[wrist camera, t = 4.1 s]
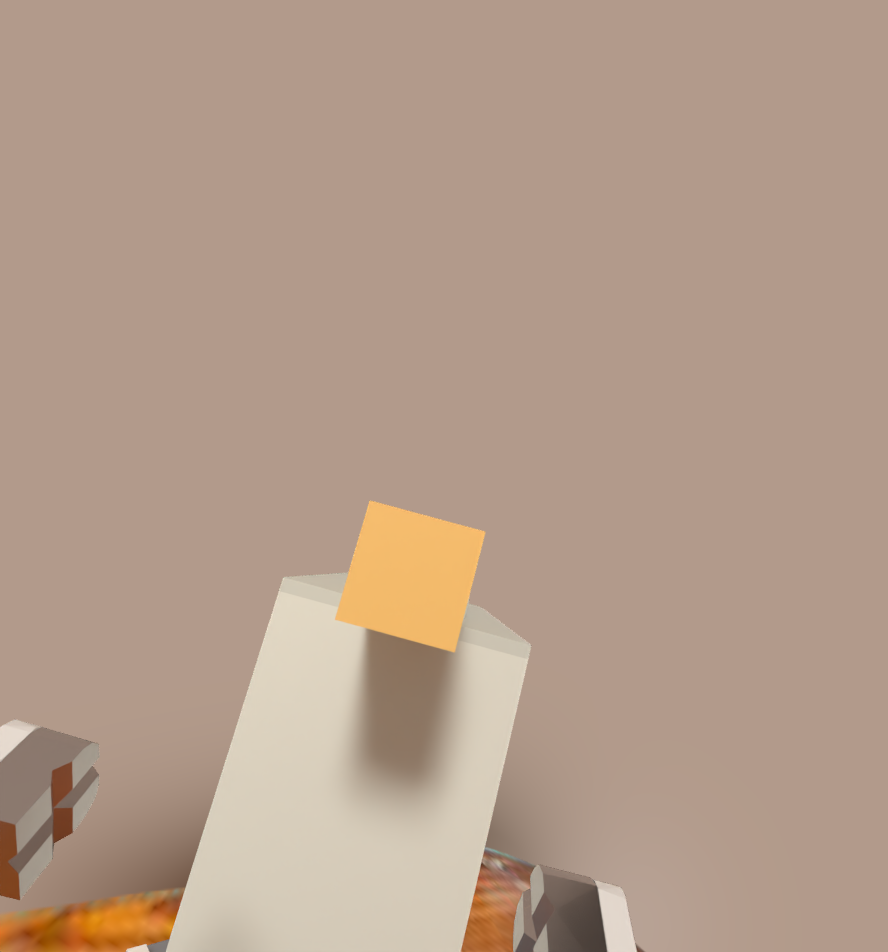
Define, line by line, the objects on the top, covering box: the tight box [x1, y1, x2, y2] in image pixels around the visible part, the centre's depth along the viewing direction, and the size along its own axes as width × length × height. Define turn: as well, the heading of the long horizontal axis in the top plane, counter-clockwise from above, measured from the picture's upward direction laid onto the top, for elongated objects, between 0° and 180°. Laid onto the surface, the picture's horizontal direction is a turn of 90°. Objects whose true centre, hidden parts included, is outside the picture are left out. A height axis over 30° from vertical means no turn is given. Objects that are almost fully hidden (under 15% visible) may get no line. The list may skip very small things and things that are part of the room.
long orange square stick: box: [335, 501, 485, 652], centre depth 30 cm, size 30×3×3 cm, turn 1°
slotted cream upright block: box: [166, 573, 531, 952], centre depth 32 cm, size 22×11×27 cm, turn 1°
